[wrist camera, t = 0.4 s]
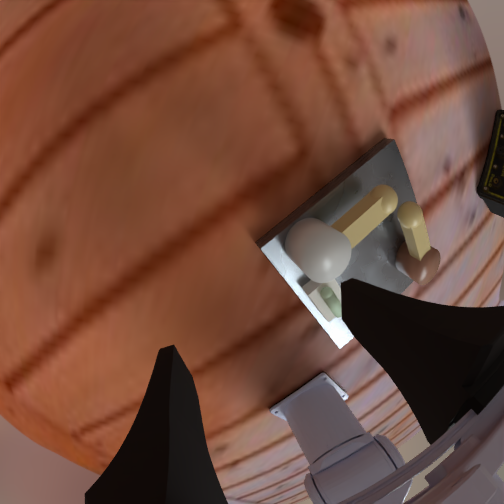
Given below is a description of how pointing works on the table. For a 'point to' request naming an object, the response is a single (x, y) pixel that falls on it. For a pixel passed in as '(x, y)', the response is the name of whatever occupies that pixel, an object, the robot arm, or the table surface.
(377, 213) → the footscrew grey
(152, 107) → the table surface
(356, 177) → the levelling plate
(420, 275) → the beige knobbed bar
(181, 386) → the robot arm
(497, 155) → the voltmeter
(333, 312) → the bubble vial
